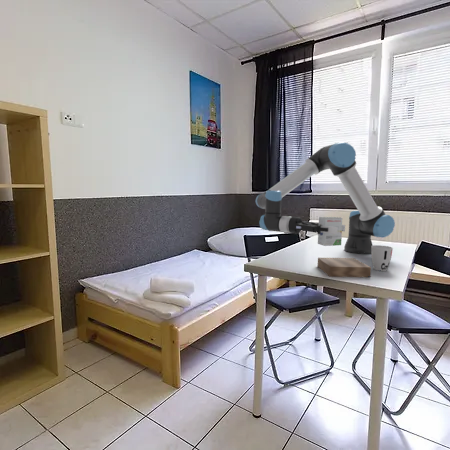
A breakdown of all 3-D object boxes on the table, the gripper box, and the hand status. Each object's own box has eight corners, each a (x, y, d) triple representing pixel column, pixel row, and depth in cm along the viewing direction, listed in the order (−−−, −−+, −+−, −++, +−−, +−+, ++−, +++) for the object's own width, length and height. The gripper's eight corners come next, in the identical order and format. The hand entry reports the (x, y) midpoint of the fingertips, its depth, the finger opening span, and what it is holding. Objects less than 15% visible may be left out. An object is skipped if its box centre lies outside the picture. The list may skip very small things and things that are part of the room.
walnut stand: (353, 266, 133) (353, 258, 133) (370, 277, 117) (371, 267, 117) (317, 266, 133) (318, 257, 133) (329, 276, 117) (330, 266, 117)
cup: (382, 273, 124) (384, 249, 122) (365, 268, 131) (367, 246, 130) (395, 270, 127) (396, 247, 126) (377, 266, 134) (379, 244, 133)
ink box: (324, 246, 123) (325, 217, 121) (317, 244, 128) (318, 216, 126) (341, 245, 125) (343, 217, 124) (334, 243, 130) (335, 216, 129)
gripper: (301, 230, 146) (348, 235, 132) (279, 235, 128) (331, 241, 115) (301, 215, 145) (349, 218, 131) (280, 218, 128) (332, 222, 114)
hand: (341, 229), depth 123 cm, fingers closed on ink box, 9 cm apart
